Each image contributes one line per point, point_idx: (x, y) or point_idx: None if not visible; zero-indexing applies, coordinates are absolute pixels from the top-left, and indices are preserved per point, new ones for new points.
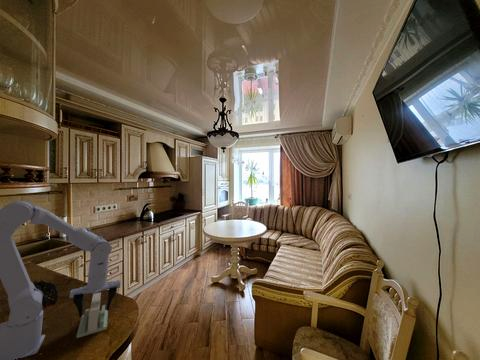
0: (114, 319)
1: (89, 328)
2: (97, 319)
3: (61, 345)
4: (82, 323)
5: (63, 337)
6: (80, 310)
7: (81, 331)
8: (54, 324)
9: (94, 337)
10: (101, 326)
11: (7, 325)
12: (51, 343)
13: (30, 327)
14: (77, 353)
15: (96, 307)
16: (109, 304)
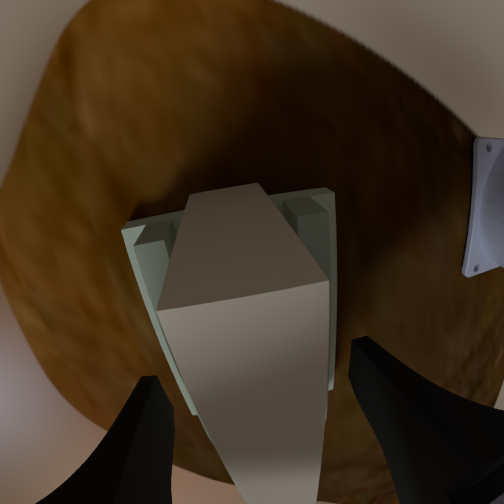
0: (115, 322)
1: (250, 193)
2: (179, 227)
3: (392, 149)
4: (329, 273)
5: (396, 230)
6: (398, 375)
7: (310, 202)
8: (429, 350)
9: (193, 146)
10: (157, 225)
11: None
12: (437, 197)
13: None
14: (270, 12)
15: (219, 369)
16: (120, 418)
